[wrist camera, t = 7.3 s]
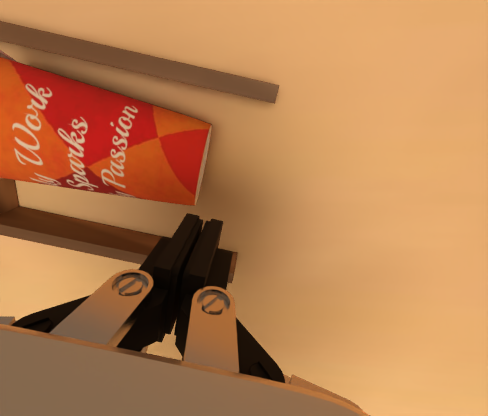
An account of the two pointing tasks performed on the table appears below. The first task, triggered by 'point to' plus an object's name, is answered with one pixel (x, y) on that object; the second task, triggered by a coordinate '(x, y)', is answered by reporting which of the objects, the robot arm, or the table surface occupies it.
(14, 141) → the paper cup
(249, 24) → the table surface
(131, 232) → the u rest
